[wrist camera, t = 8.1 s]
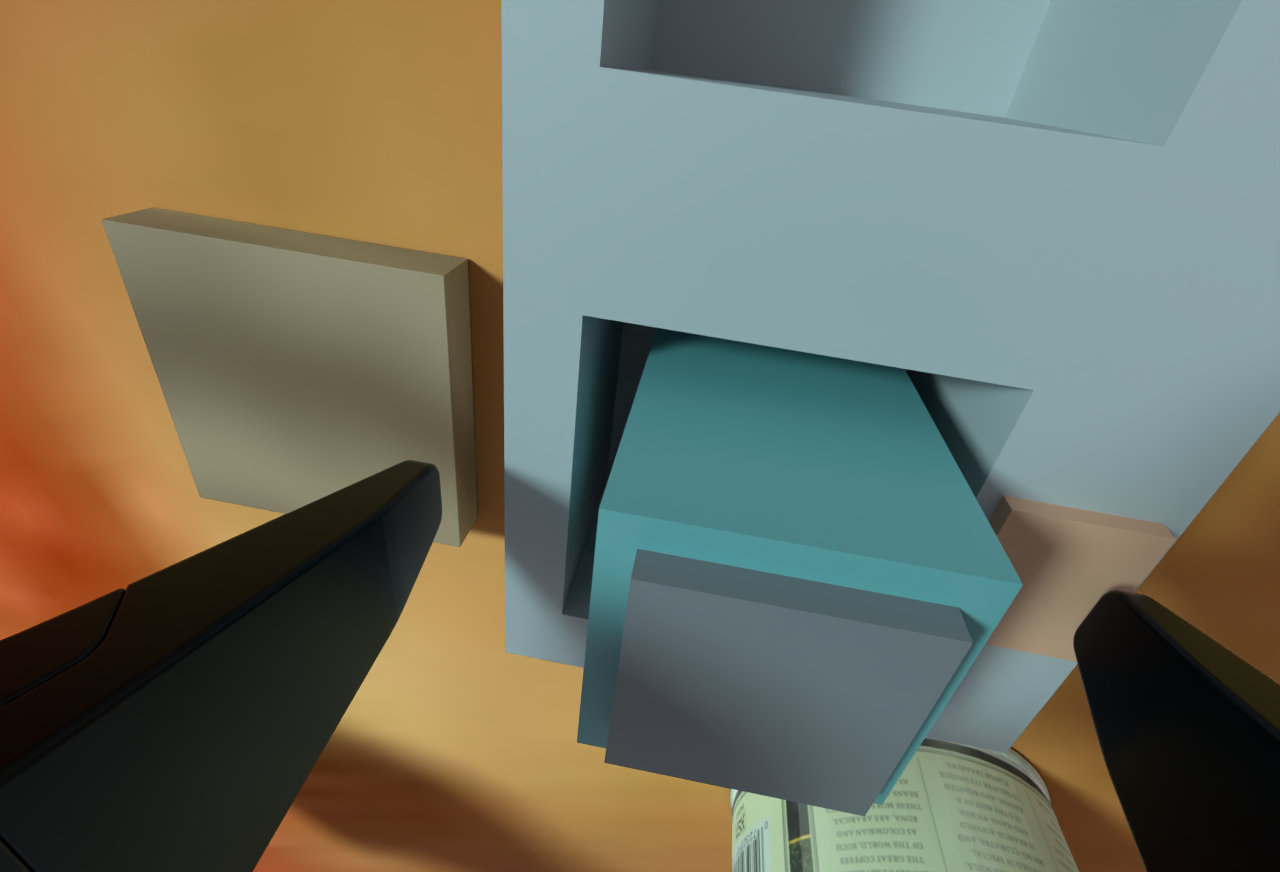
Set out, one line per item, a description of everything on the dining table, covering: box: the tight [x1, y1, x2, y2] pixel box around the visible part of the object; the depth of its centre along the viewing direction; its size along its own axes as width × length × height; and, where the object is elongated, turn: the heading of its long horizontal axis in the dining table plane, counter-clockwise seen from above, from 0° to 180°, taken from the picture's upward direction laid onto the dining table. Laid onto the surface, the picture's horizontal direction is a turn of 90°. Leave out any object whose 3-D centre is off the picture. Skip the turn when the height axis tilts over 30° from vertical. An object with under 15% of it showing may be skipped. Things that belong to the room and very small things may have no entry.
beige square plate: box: [102, 208, 478, 547], centre depth 14 cm, size 7×7×1 cm
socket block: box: [501, 0, 1280, 753], centre depth 8 cm, size 16×9×5 cm, turn 173°
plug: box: [577, 328, 1023, 816], centre depth 9 cm, size 4×4×7 cm
